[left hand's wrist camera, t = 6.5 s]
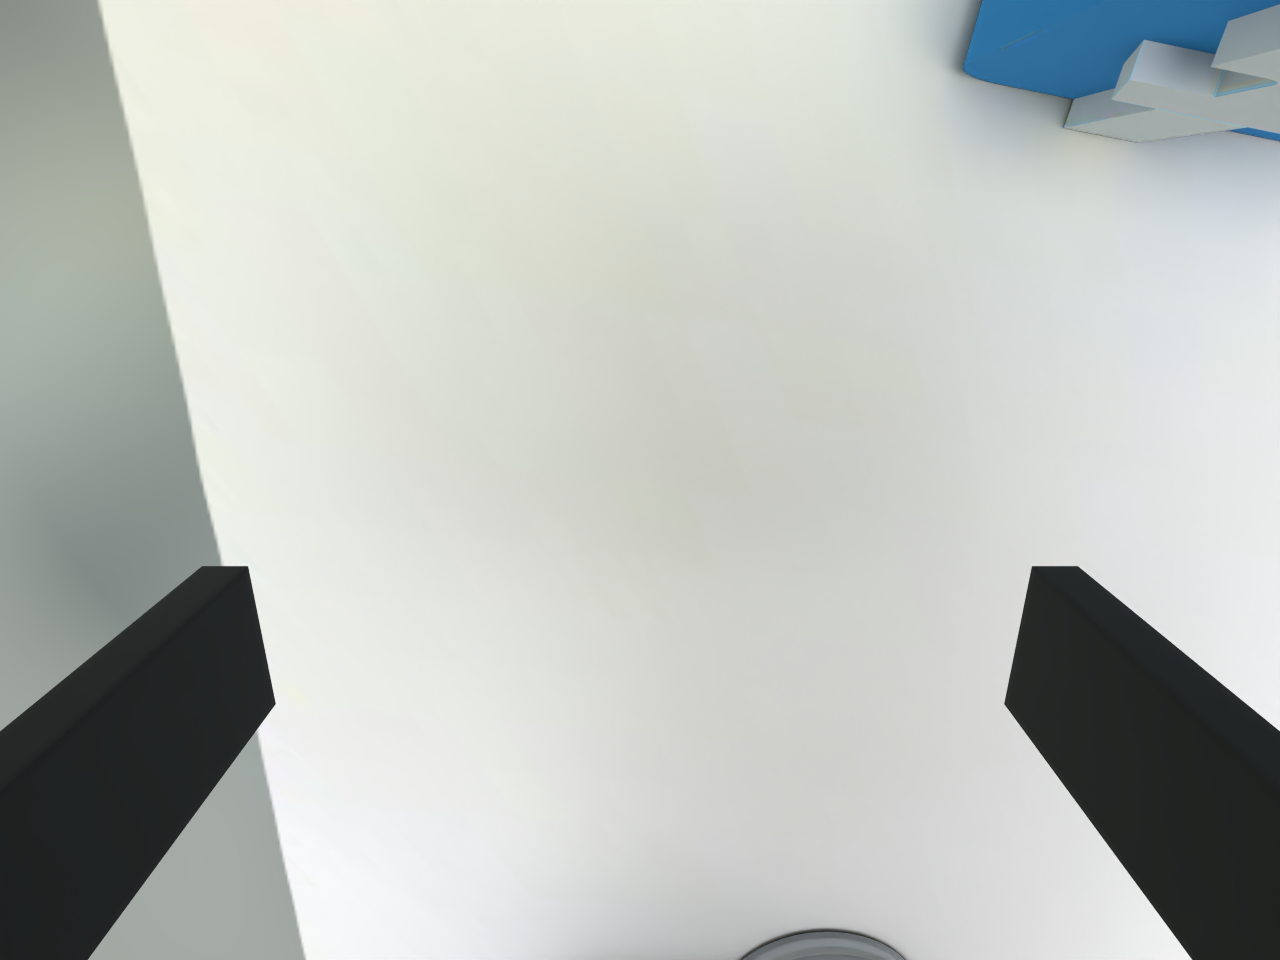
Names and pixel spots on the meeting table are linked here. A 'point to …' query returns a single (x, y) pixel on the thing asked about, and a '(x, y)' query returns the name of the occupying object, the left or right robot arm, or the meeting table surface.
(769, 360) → the meeting table surface
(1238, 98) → the logo
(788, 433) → the meeting table surface
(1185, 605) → the meeting table surface
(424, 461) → the meeting table surface
